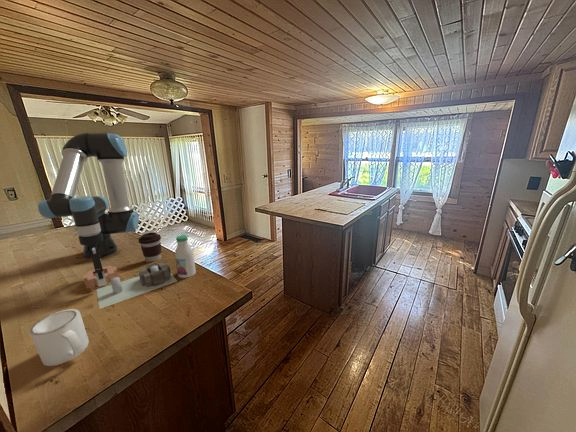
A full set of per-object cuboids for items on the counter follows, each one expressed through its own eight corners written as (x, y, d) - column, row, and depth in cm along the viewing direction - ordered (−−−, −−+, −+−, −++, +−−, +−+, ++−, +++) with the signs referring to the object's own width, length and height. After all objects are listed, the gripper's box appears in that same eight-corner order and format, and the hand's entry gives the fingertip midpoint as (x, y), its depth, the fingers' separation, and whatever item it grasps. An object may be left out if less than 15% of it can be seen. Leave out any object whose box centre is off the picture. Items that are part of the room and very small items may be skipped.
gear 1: (85, 281, 103) (83, 271, 101) (116, 272, 110) (114, 263, 109) (86, 293, 95) (83, 282, 93) (120, 282, 102) (117, 272, 100)
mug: (103, 345, 70) (95, 317, 67) (61, 375, 61) (49, 343, 58) (76, 333, 75) (67, 305, 71) (34, 358, 65) (21, 328, 62)
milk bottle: (192, 270, 113) (187, 232, 107) (198, 276, 107) (193, 236, 101) (175, 276, 107) (169, 236, 101) (182, 282, 102) (175, 241, 96)
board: (97, 292, 95) (92, 276, 93) (167, 270, 112) (164, 256, 110) (100, 312, 84) (95, 294, 82) (177, 284, 101) (175, 269, 99)
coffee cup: (155, 266, 116) (150, 239, 111) (138, 264, 118) (132, 237, 113) (168, 257, 125) (164, 231, 121) (153, 255, 127) (148, 230, 123)
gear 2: (138, 278, 102) (136, 268, 101) (166, 269, 110) (164, 260, 108) (144, 289, 94) (142, 279, 93) (173, 279, 102) (172, 269, 100)
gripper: (77, 228, 102) (89, 270, 108) (78, 244, 84) (92, 294, 90) (99, 224, 107) (109, 265, 113) (103, 239, 89) (115, 287, 95)
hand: (101, 278), depth 101 cm, fingers open, 13 cm apart
